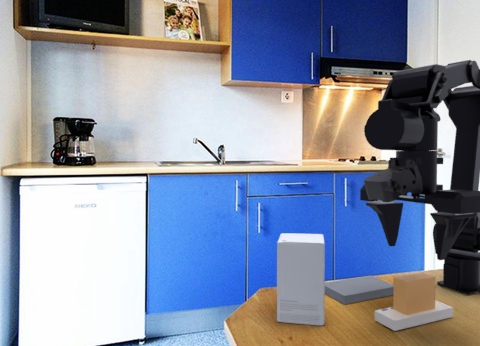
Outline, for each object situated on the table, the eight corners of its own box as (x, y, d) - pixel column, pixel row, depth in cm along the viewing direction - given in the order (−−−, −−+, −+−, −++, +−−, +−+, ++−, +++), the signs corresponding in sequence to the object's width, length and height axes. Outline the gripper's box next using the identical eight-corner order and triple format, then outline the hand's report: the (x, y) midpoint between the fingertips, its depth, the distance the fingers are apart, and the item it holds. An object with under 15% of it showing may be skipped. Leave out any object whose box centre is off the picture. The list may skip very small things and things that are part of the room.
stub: (431, 307, 62) (431, 268, 62) (452, 316, 59) (453, 275, 59) (374, 320, 58) (375, 278, 58) (394, 330, 54) (395, 286, 54)
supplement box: (325, 326, 56) (325, 243, 56) (275, 322, 58) (275, 241, 57) (324, 307, 63) (324, 233, 63) (280, 304, 65) (280, 231, 64)
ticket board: (370, 282, 76) (370, 275, 76) (397, 294, 69) (397, 286, 69) (320, 291, 71) (320, 283, 71) (344, 304, 64) (344, 295, 64)
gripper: (334, 151, 63) (334, 244, 63) (430, 149, 45) (428, 276, 46) (385, 152, 67) (385, 238, 68) (491, 149, 50) (488, 266, 50)
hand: (414, 252), depth 58 cm, fingers open, 9 cm apart
